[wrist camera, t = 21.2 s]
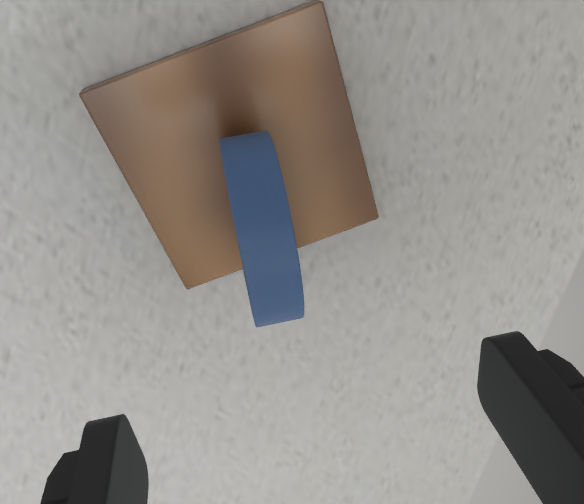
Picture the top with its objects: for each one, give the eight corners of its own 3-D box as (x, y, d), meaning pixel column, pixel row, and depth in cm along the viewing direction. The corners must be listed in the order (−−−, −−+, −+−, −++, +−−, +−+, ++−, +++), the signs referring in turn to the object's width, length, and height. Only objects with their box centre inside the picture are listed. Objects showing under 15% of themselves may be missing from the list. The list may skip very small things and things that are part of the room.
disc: (266, 173, 26) (264, 92, 19) (298, 324, 25) (311, 306, 17) (228, 180, 26) (210, 101, 18) (258, 333, 25) (251, 318, 17)
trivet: (318, -2, 22) (322, 0, 21) (374, 211, 28) (379, 218, 27) (81, 89, 22) (77, 94, 21) (186, 282, 28) (186, 290, 27)
